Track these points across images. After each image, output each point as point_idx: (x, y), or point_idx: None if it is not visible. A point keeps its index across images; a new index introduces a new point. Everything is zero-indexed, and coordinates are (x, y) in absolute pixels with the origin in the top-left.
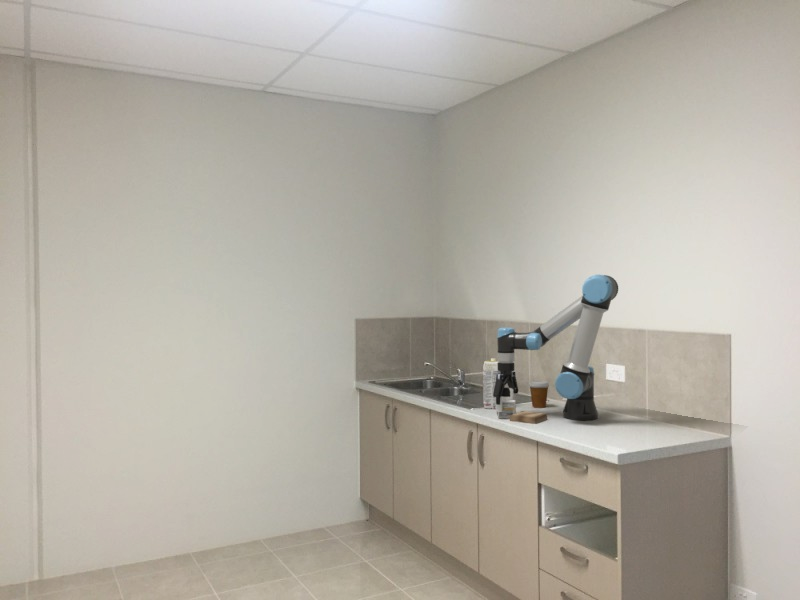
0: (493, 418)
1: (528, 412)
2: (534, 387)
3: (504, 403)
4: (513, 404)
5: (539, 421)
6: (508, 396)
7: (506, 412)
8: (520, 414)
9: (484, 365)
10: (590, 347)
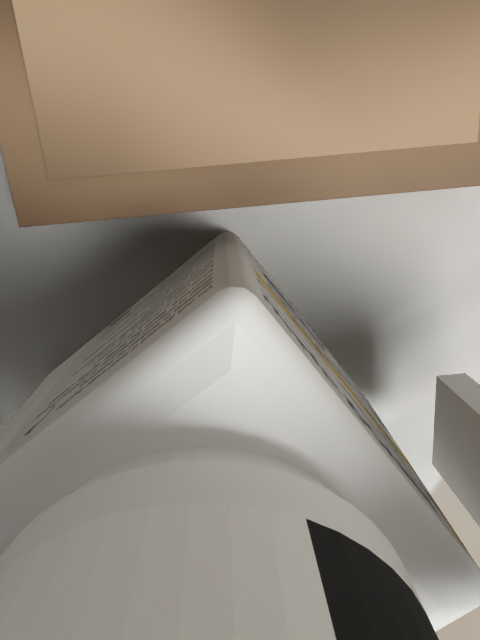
0: (412, 437)
1: (92, 7)
2: None
3: (399, 468)
4: (271, 306)
5: None
6: (368, 555)
7: (326, 355)
8: (398, 17)
9: None
10: None
